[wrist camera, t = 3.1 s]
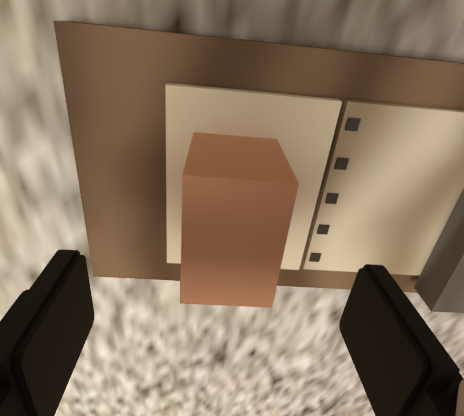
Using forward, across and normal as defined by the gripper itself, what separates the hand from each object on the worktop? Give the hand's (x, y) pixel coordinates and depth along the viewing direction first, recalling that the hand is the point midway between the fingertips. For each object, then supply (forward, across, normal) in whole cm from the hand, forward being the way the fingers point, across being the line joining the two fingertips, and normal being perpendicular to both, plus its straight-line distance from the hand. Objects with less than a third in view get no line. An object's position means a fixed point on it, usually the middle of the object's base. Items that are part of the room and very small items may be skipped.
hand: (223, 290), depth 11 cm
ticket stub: (+7, -1, -1) cm, 7 cm away
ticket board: (+9, -6, -1) cm, 10 cm away
